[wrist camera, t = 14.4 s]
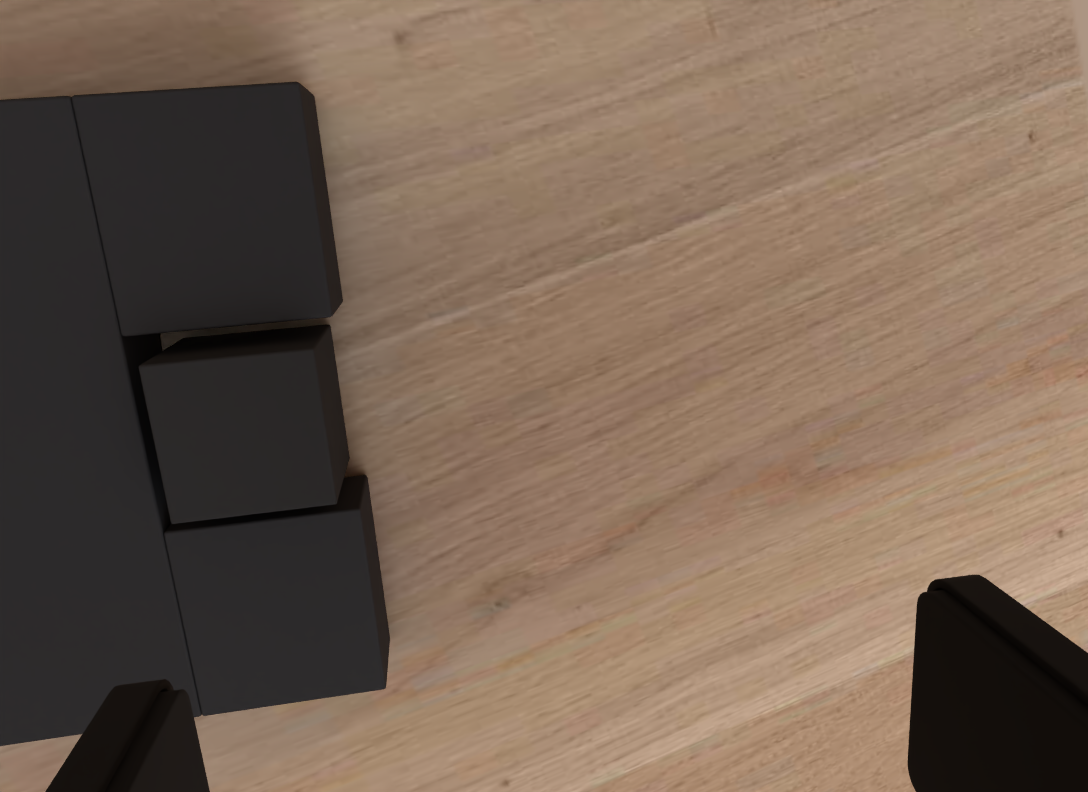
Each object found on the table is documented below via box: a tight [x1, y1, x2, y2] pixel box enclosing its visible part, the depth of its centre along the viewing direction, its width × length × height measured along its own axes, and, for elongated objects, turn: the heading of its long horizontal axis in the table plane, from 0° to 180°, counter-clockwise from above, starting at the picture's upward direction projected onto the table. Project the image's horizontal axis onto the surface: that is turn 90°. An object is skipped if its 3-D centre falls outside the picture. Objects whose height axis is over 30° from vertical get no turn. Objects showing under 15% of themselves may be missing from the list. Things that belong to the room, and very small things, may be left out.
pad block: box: [139, 325, 349, 524], centre depth 24 cm, size 4×4×4 cm
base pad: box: [0, 82, 390, 746], centre depth 24 cm, size 18×18×3 cm
